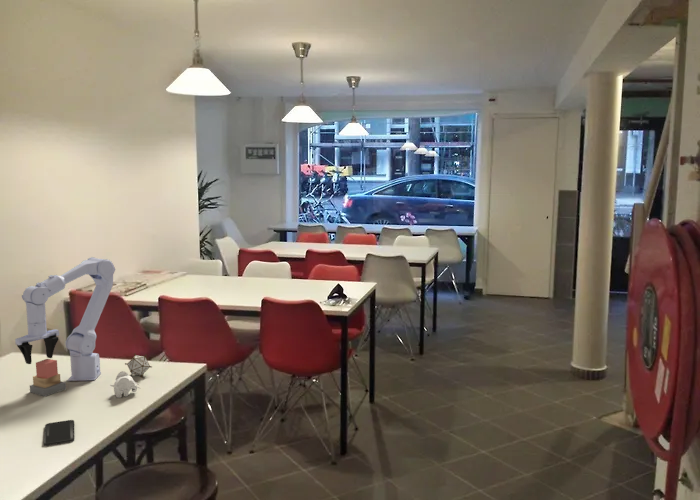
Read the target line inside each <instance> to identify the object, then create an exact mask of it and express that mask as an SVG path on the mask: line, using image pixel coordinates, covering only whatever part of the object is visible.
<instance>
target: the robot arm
mask: <svg viewBox="0 0 700 500" xmlns="http://www.w3.org/2000/svg"><path fill="white" fill-rule="evenodd" d="M114 265H115V264H114V262H112V261H111V260H110V259H108V258H106V259H105V258H104V259H103V258H98V257H93V256H91V257H89V258H87V259H85V260H82V261H81V263H79V264H77V265H76V266H74V267H73V268H71V269H69V270H67V271H66V272H64V273H63V274H61V275H57V274H54V275H53V274H50V275H49V276H48V278H46V279H44V280H42V281H40V282H39V281H38V282H36V285H35V286H34V285H30V286H28V287H26V288H25V289H24V291H23V292H22V293H23V294H21V299H22V301H24V303H25V309H26V321H27V334H25V335H24V336H21V337H17V338H15V339H14V340H15V345H16V346H17V348H18V350H20V352H21V354H22V357H23V359H24V362H25V364H27V365H31V364H32V350H33V344H30V343H33V342H35V341H39V340H43V341H44V345H45V355H46V359H53V355H54V350H55V348H56V345H57V344H58V341H59V336H60V330H59V329H51V330H50V329H49V330H48V329H47V328H48V327H47V314H46V311H47V310H46V303H47V301H48V299H49V298H51V297H53V296H54V295H55V294H56V295H57V294H58V293H59V292H61V291H63V290H65V288H66V284H68V283H71V282H73V281H74V280H77V279H78V278H82V277H83V276H85V275H88V276H90V277H91V279H92V280H93V282H94V284H95V287H94V289H93V292H92V295H91V297H90V298H89V301H88V303H87V305H86V308H85V310H84V313H83V315H82V318H81V320H80V323H79V325H77V326H76V327H75V328H73V330H72V331H71V333H70V334H69V335H68V336H67V338H66V340H65V342H64V343H65V348H66V349H67V350H69V358H70V371H71V372H70V373H71V374H70V375H71V376H70V377H68V379H67V382H74V381H75V382H76V381H77V382H78V381H79V382H80V381H95V380H96V379H97V378H98V377H100V375H101V373H102V372H101V361H100V360H101V359H100V354H99V353H96V352H94V351H95V348H96V340H97V333H96V331H95V330H96V327H97V325H98V323H99V320H100V317H101V314H102V313H103V311H104V308H105V307H106V303H107V300H108V298H109V296H110V293H111V291H112V290H113V289H112V288H113V287H114V274H115V272H116V268H115V267H116V266H114Z"/></svg>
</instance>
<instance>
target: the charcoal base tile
mask: <svg viewBox="0 0 700 500" xmlns="http://www.w3.org/2000/svg"><path fill="white" fill-rule="evenodd" d="M66 389H67V386H66V382H65V381H61V383H58V384H55V385H52V386H50V387H47V388H43V387H39V386H35V385H33V384H30V385H29V392H30V393H32V394H35V395H38V396H41V397H47V396H50V395H53V394H56V393H58V392H62V391H65V390H66Z"/></svg>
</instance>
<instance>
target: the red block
mask: <svg viewBox="0 0 700 500" xmlns="http://www.w3.org/2000/svg"><path fill="white" fill-rule="evenodd" d="M35 371H36V372H35V373H36V375H37V377H40V378H46V379H47V378H50V377H52V376H55V375H58V374H59V372H58V371H59V370H58V360H57V359H52V358H45V359H43V360H40V361H36V362H35Z"/></svg>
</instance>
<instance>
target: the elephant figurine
mask: <svg viewBox="0 0 700 500" xmlns="http://www.w3.org/2000/svg"><path fill="white" fill-rule="evenodd" d="M109 386H110V387H113V393H114V395H115V397H116V398H122V396H123V397H125V398H126V397H129V393H130V391H131V392H132V393H136V392H137V390H138V389H141V387H139V386H140V384H139V383H137V382H136V381H135V380H134V378H133V377H132V376H131V375H129V374H128V372H126V371H123V370H121V371H120V372H118V374H117V375H116V377H115V381H114V384H109Z"/></svg>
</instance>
